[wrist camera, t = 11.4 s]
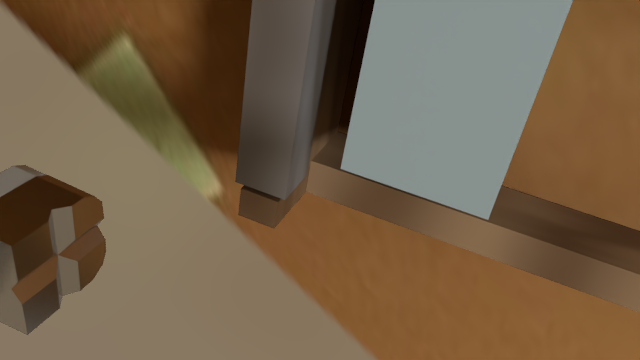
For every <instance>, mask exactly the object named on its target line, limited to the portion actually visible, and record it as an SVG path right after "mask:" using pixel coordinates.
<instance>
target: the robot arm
mask: <svg viewBox="0 0 640 360" xmlns="http://www.w3.org/2000/svg"><path fill="white" fill-rule="evenodd" d="M103 219H104V214H103V206H102V201H100V200H99V199H97V198H96V197H95V196H92V195H90V194H88V193H86V192H84V191H82V190H79V189H77V188H75V187H73V186H71V185H68V184H66V183H64V182H62V181H60V180H58V179H55V178H53V177H51V176H49V175H45V174H43V173H41V172H38V171H36V170H34V169H32V168H29V167H28V166H26V165H21V166H12V167H10V168H8V169H6V170H4V171H3V172H1V173H0V322H1V323H3V324H6V325H8V326H10V327H12V328H14V329H16V330H18V331H20V332H22V333H24V334H26V335H28V334H29V333H31V332H32V331H33V330H34V329H35V328H37V327H38V326H39V325H40V324H41V323H43V322H44V321H45V320H46V319H47V318H49V317H50V316H51V315H52V314H53V313H54V312H56V311H57V310H58V309H59V308H60V305H61V301H62V296H63V295H67V294H71V293H74V292H78V291H81V290H82V289H83V288H84V287H85V286H86V285H88V284H89V283H90V282H91V281H92V280H93V279H94V277H95V276H96V274H97V273H98V271H99V269H100V268H101V266H102V265H103V261H104V257H105V253H106V244H105V243H106V242H105V238H104V236H103V235H102V233H101V231H100V229H99V228H98V226H97V225H98V224H99V223H100V222H101V221H102V220H103Z"/></svg>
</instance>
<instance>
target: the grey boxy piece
mask: <svg viewBox="0 0 640 360" xmlns="http://www.w3.org/2000/svg"><path fill="white" fill-rule="evenodd" d="M572 1H573V0H375V3H374V8H373V12H372V17H371V22H370V27H369V32H368V37H367V42H366V47H365V51H364V56H363V61H362V66H361V71H360V76H359V81H358V86H357V90H356V95H355V100H354V105H353V110H352V115H351V120H350V125H349V129H348V134H347V139H346V144H345V149H344V154H343V159H342V164H341V168H340V169H343V170H345V171H348V172H351V173H354V174H357V175H360V176H363V177H366V178H369V179H371V180H374V181H377V182H380V183H383V184H386V185H389V186H392V187H395V188H397V189H400V190H403V191H406V192H409V193H412V194H415V195H418V196H421V197H423V198H426V199H429V200H432V201H435V202H438V203H441V204H444V205H447V206H449V207H452V208H455V209H458V210H461V211H464V212H467V213H470V214H473V215H475V216H478V217H481V218H484V219H487V220H488V219H489V216H490V214H491V211H492V208H493V206H494V203H495V201H496V198H497V195H498V193H499V190H500V188H501V185H502V183H503V180H504V177H505V175H506V172H507V170H508V167H509V164H510V162H511V159H512V157H513V154H514V151H515V149H516V146H517V144H518V141H519V139H520V136H521V133H522V131H523V128H524V126H525V123H526V120H527V118H528V115H529V113H530V110H531V107H532V105H533V102H534V100H535V97H536V95H537V92H538V89H539V87H540V84H541V82H542V79H543V76H544V74H545V71H546V69H547V66H548V63H549V61H550V58H551V56H552V53H553V50H554V48H555V45H556V43H557V40H558V38H559V35H560V32H561V30H562V27H563V25H564V22H565V19H566V17H567V14H568V12H569V9H570V6H571V4H572Z"/></svg>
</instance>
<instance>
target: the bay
mask: <svg viewBox="0 0 640 360" xmlns="http://www.w3.org/2000/svg"><path fill="white" fill-rule="evenodd" d="M362 3H363V0H252V8H251V19H250V30H249V41H248V51H247V62H246V73H245V84H244V95H243V106H242V116H241V127H240V138H239V149H238V160H237V170H236V181H235V182H237V183H240V184H243V185H244V186H243V187H242V188H241V194H240V204H239V214H238V215H240V216H243V217H245V218H248V219H251V220H253V221H256V222H258V223H261V224H264V225H266V226H269V227H271V228H275V227H276V226H277V225H278V223H279V222H280V221H281V220H282V219H283V218H284V216H285V215H286V214H287V213H288V212H289V210H290V209H291V208H292V207H293V206H294V204H295V203H297V202H298V201H299V199H300V198H301V197H302V196H303V195H304V193H305V192H308V193H311V194H314V195H316V196H319V197H322V198H325V199H328V200H330V201H333V202H336V203H339V204H341V205H344V206H347V207H350V208H352V209H355V210H358V211H361V212H363V213H366V214H369V215H372V216H374V217H377V218H380V219H383V220H386V221H388V222H391V223H394V224H397V225H399V226H402V227H405V228H408V229H410V230H413V231H416V232H419V233H421V234H424V235H427V236H430V237H433V238H435V239H438V240H441V241H444V242H446V243H449V244H452V245H455V246H457V247H460V248H463V249H466V250H468V251H471V252H474V253H477V254H479V255H482V256H485V257H488V258H491V259H493V260H496V261H499V262H502V263H504V264H507V265H510V266H513V267H515V268H518V269H521V270H524V271H526V272H529V273H532V274H535V275H537V276H540V277H543V278H546V279H549V280H551V281H554V282H557V283H560V284H562V285H565V286H568V287H571V288H573V289H576V290H579V291H582V292H584V293H587V294H590V295H593V296H596V297H598V298H601V299H604V300H607V301H609V302H612V303H615V304H618V305H620V306H623V307H626V308H629V309H631V310H634V311H637V312H640V231H637V230H634V229H631V228H628V227H625V226H622V225H619V224H616V223H613V222H610V221H607V220H604V219H601V218H598V217H595V216H592V215H589V214H586V213H582V212H579V211H576V210H573V209H570V208H567V207H564V206H561V205H558V204H555V203H552V202H549V201H546V200H543V199H540V198H537V197H534V196H531V195H528V194H525V193H522V192H519V191H516V190H513V189H510V188H507V187H504V186H501V188H500V190H499V193H498V195H497V198H496V201H495V203H494V206H493V208H492V211H491V214H490V216H489V219H488V220H487V219H484V218H481V217H478V216H475V215H473V214H470V213H467V212H464V211H461V210H458V209H455V208H452V207H449V206H447V205H444V204H441V203H438V202H435V201H432V200H429V199H426V198H423V197H421V196H418V195H415V194H412V193H409V192H406V191H403V190H400V189H397V188H395V187H392V186H389V185H386V184H383V183H380V182H377V181H374V180H371V179H369V178H366V177H363V176H360V175H357V174H354V173H351V172H348V171H345V170H343V169H340V168H341V164H342V159H343V154H344V149H345V144H346V139H347V135H346V134H343V133H340V132H338V127H339V122H340V117H341V112H342V107H343V101H344V96H345V91H346V86H347V81H348V76H349V70H350V65H351V60H352V55H353V50H354V45H355V39H356V34H357V29H358V24H359V19H360V14H361V8H362Z"/></svg>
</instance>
